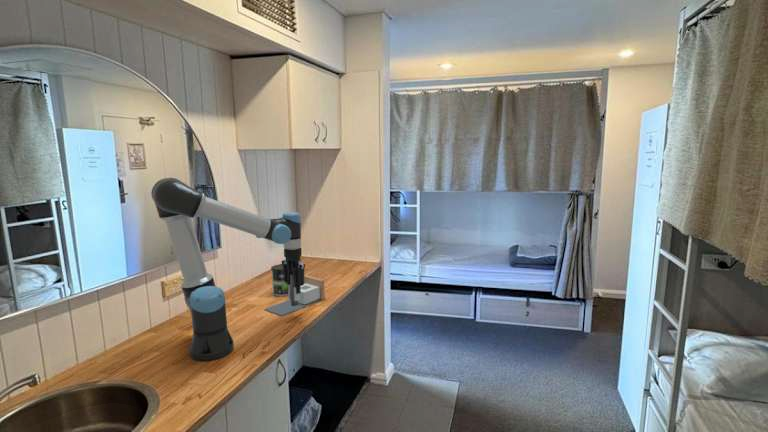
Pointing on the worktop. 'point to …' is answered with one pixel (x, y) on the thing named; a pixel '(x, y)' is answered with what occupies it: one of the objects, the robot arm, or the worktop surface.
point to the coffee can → (279, 281)
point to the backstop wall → (316, 284)
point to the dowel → (292, 290)
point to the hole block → (309, 293)
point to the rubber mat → (287, 307)
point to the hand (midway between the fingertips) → (294, 299)
